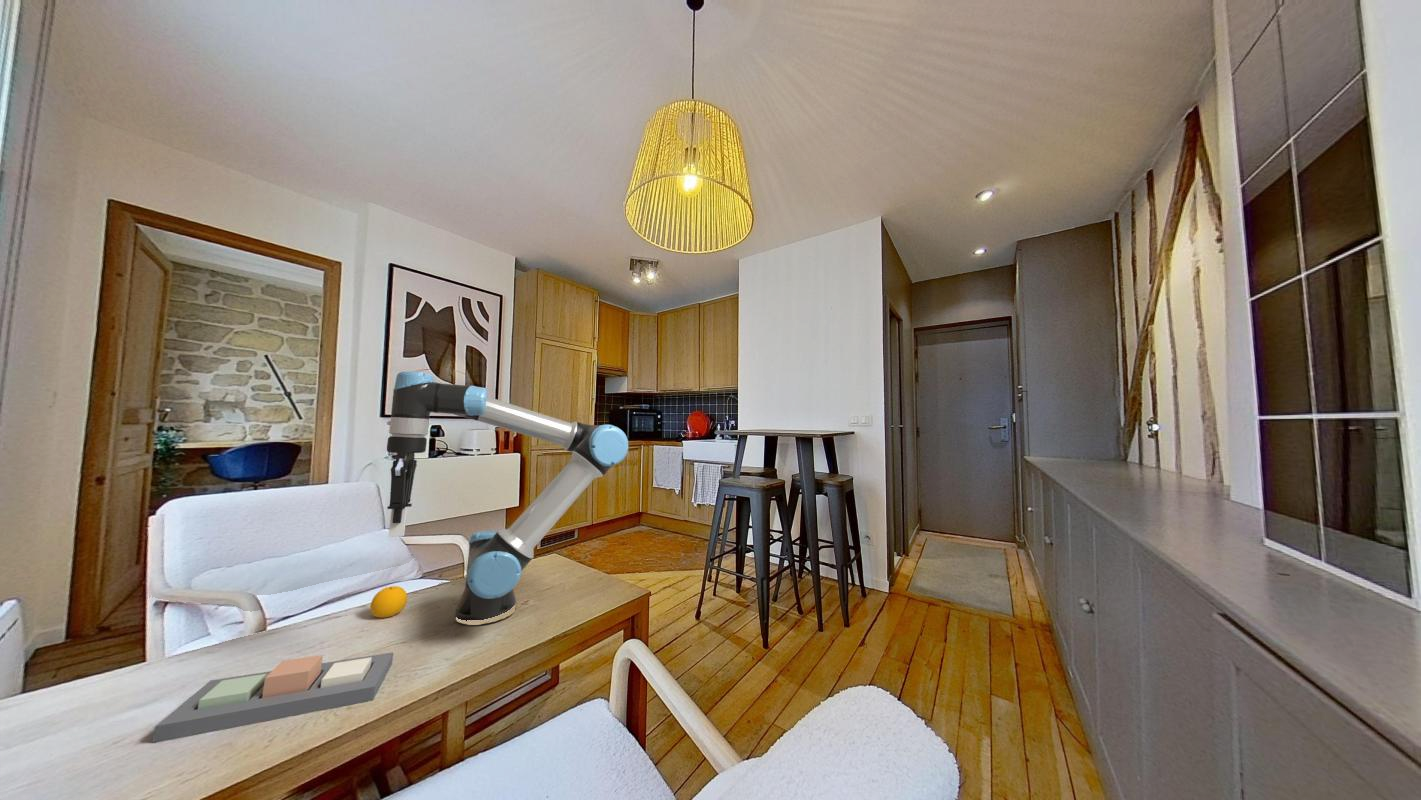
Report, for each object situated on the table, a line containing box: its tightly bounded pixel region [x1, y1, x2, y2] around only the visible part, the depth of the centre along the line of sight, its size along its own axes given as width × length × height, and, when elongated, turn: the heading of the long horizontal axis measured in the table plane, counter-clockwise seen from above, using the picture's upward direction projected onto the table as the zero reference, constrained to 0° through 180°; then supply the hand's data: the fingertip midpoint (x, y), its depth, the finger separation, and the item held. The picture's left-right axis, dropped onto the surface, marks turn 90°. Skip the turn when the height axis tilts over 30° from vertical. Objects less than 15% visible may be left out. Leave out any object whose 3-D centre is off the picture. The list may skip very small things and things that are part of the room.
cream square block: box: [321, 657, 372, 688], centre depth 79 cm, size 6×6×4 cm
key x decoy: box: [262, 654, 324, 698], centre depth 76 cm, size 6×6×4 cm
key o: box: [198, 674, 267, 709], centre depth 72 cm, size 6×6×4 cm
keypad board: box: [152, 652, 394, 744], centre depth 76 cm, size 28×13×2 cm, turn 116°
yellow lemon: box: [370, 585, 408, 619], centre depth 111 cm, size 8×8×8 cm
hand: (396, 536), depth 94 cm, fingers closed
